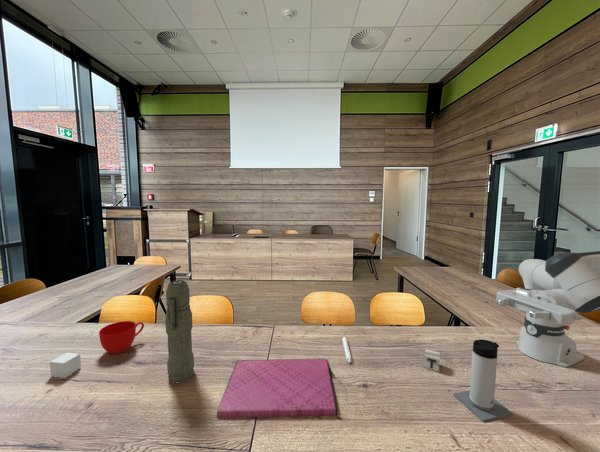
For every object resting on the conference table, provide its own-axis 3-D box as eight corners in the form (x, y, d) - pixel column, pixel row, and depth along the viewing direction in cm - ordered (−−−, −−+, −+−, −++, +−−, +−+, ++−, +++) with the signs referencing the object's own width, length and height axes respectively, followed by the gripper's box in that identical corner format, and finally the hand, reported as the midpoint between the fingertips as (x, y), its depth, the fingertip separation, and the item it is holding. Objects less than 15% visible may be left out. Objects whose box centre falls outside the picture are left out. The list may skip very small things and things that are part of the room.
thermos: (197, 364, 104) (194, 276, 101) (189, 384, 92) (185, 286, 89) (173, 366, 103) (170, 277, 100) (162, 387, 91) (157, 287, 88)
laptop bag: (215, 406, 78) (236, 355, 105) (216, 419, 78) (236, 365, 105) (351, 404, 79) (337, 354, 106) (351, 417, 79) (337, 363, 106)
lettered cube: (425, 361, 106) (425, 349, 106) (439, 364, 104) (439, 352, 104) (424, 368, 102) (424, 356, 101) (438, 372, 99) (439, 359, 99)
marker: (352, 365, 104) (352, 359, 104) (347, 365, 104) (347, 359, 104) (346, 341, 122) (346, 336, 122) (342, 341, 122) (342, 336, 122)
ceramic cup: (152, 343, 119) (150, 322, 118) (109, 362, 105) (107, 338, 104) (137, 335, 126) (136, 315, 125) (94, 352, 112) (93, 330, 111)
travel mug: (498, 413, 79) (503, 349, 77) (474, 409, 81) (478, 347, 79) (488, 398, 85) (492, 338, 84) (465, 395, 87) (469, 336, 85)
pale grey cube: (81, 368, 101) (80, 353, 101) (64, 379, 96) (63, 363, 95) (67, 367, 102) (66, 352, 102) (51, 377, 96) (49, 361, 96)
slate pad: (480, 389, 90) (480, 388, 90) (513, 415, 79) (513, 413, 79) (453, 395, 88) (453, 393, 88) (482, 421, 77) (483, 420, 77)
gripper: (585, 327, 79) (554, 334, 75) (512, 302, 98) (484, 306, 94) (587, 307, 78) (556, 312, 74) (514, 285, 98) (485, 289, 94)
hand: (515, 309), depth 84 cm, fingers open, 8 cm apart
